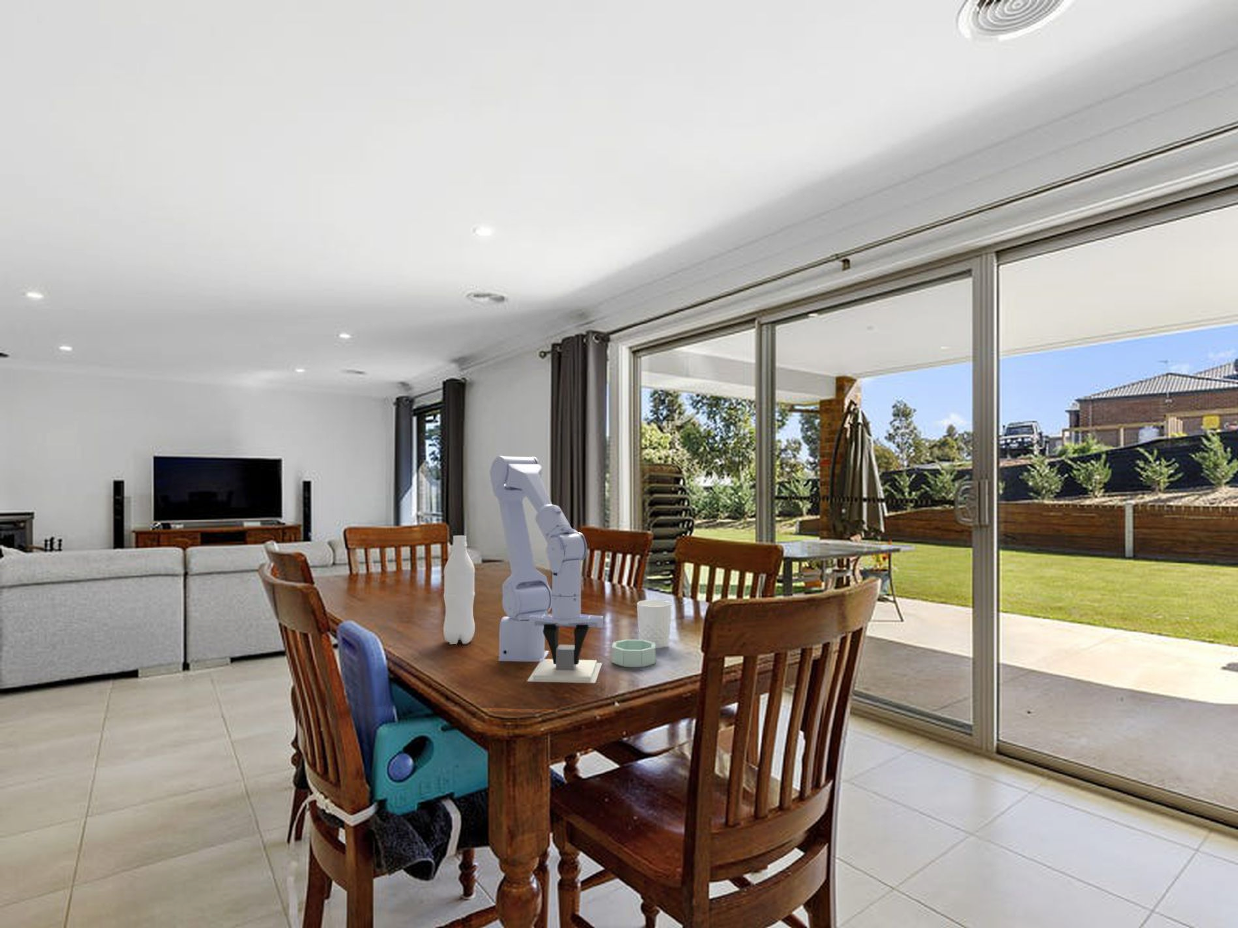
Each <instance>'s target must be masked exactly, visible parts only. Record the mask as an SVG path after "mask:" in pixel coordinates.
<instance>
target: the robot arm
mask: <svg viewBox="0 0 1238 928" xmlns="http://www.w3.org/2000/svg"><path fill="white" fill-rule="evenodd" d="M542 474H543V468H542V466H541V463H540V461H539V460H538V458H537V457H536V456H529V457H528V456H503V455H497V456H496V457H495V458H494V459H493V461H492V463H491V467H490V470H489V475H490V481H491V486H492V491H493V496H494V497H496V498H497V500H498V506H499V512H500V517H501V523H502V527H503V528H502V529H503V532H504V538H505V539H504V540H505V544H506V545H505V546H506V548H507V556H508V561H509V566H510V570H511V571H510V572H511V573H510V575H509V576H508V577H507V579H506V580H504V582H503V583H502V585H501V587H502V601H501V603H502V608H503V610H504V613H505V614H506V616H503V617H502V618H501V620H500V623H499V630H498V631H499V634H498V636H499V643H498V644H499V648H498V652H499V653H498V655H499V656H498V661H499V662H500V661H501V662H536V663H537V662H538V663H540V661H541V662H542V661H543V660H544V659H546V657H547V656H548V655H549V653H551V658H552V659H553V664H556V649H557V647H558V646H559V635H560V631H559V630H560V627H575V628H574V631H573V637H574V645H575V653H574V664H575V665H577V664H578V663H579V660H580V656H581V651H582V647H583V645H584V641H585V639H586V636H587V634H588V631H589V629H590V628H593V627H594V628H598V629H601V628H602V629H603V627H604V616H603V615H593V614H592V615H591V614H584V613H583V614H582V612H581V611H582V610H581V609H582V606H581V605H582V601H581V600H582V596H581V595H582V585H581V584H582V561H584V560H585V558H586V556H587V553H588V544H587V541H586V538H585V535H584V534H583V533H582V532H580V531H579V532H578V531H577V530H576V529H574V528H572V527H571V524H570V522H569V521H568V519H567V518H566V516H565V513H564V512H563V510H562V509H561V507H560V506H559V505H556V504H553V503H552V500H551V499H550V497H549V494H548V492H547V490H546V488H545V485H544V483H543V481H542V476H543V475H542ZM525 498H527V500H529V502H530V504H531V505H532V506H533V508H534V510H535V512H536V514H535V518H534V520H535V522H536V524H537V526H538V528H539V529H540V532H541V533H542V536H543V537H544V539H545V541H546V543H547V545H546V546H545V547H546V548H545V552H546V556H547V559H548V564H549V566H548V567H549V570H550V572H551V575H552V576H551V577H552V578H551V587H550V585H549V582H548V579H547V576H546V575H545V574H544V573H542V572H540V571H539V570H538V569H536V565H535V559H534V555H533V550H532V544H531V540H530V534H529V530H528V524H527V519H526V515H525V510H524V509H525V508H524V504H523V502H524V499H525ZM550 611H551V613H548V612H550ZM545 639H546V641H547V644H548V646H549V649H550V651H549V650H545V642H546V641H545Z"/></svg>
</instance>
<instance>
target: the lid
mask: <svg viewBox="0 0 1238 928" xmlns="http://www.w3.org/2000/svg"><path fill="white" fill-rule="evenodd" d="M574 653H575V644H558V647H557V649H556V664H553V658H545V659H544V660H543V661H542V663H541V664H540V666H539V667H538V669H537V670H536V672H535V673H534V675H533V680H572V681H591V678H592V676H593V673H594V670H595V668H596V665H597V663H598V660H597V659H595V660H594V659H579V663H578V664H577V665H575V664H574Z"/></svg>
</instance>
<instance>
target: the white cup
mask: <svg viewBox="0 0 1238 928" xmlns="http://www.w3.org/2000/svg"><path fill="white" fill-rule="evenodd" d="M636 608H637V627H638V636H639V637H638V640H646V641H650V642H653V643H655V649H661V648H669V647H670V635H671V621H672V618H671V617H672V616H671V615H672V602H671V601H668V600H662V599H644V600H640V601H638V602H637V603H636Z"/></svg>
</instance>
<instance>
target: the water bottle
mask: <svg viewBox="0 0 1238 928" xmlns="http://www.w3.org/2000/svg"><path fill="white" fill-rule="evenodd" d="M452 538H453V539H452V545H451V547H452V550H451V554H450V556H449V558H448V560H447V562H446V564H445V566H444V569H443V574H444V577H443V579H444V580H443V581H444V582H443V583H444V587H443V592H444V593H443V600H444V605H445V616H444V622H443V628H442V629H443V636H444V640H445V642H447V643H448V642H449V643H448V644H450V645H452V644H456V645H457V644H458V642H459V641H461V643H462V645H466V644H469V643H471V641H472V639H473V637H474V635H475V631H476V627H475V626H476V624H475V623H476V622H475V620H474V600H475V597H476V596H475V595H476V592H475V573H476V570H475V569H476V568H475V565H474V563H473V560H472V559H471V557H470V554H469V553H468V550H467V547H468V542H467V536H466V535H453V537H452Z"/></svg>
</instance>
